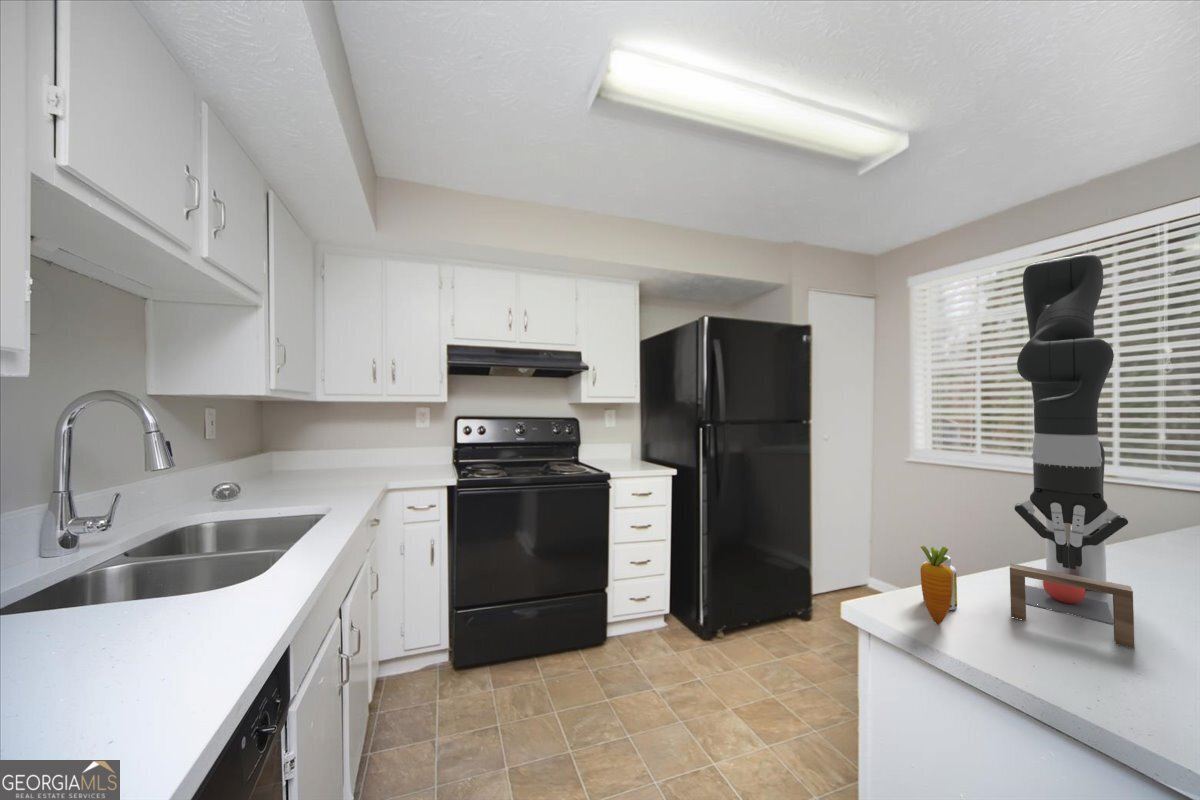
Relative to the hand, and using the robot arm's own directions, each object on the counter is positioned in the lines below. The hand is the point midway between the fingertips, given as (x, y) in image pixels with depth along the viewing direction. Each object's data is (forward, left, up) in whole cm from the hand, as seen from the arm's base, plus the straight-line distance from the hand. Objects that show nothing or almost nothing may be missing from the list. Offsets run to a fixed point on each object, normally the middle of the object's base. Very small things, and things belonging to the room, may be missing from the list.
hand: (1068, 567), depth 69 cm
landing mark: (-27, 0, -15) cm, 31 cm away
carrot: (+2, -17, -15) cm, 23 cm away
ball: (-28, 0, -12) cm, 30 cm away
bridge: (-13, 0, -15) cm, 20 cm away
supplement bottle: (-8, -18, -15) cm, 25 cm away
